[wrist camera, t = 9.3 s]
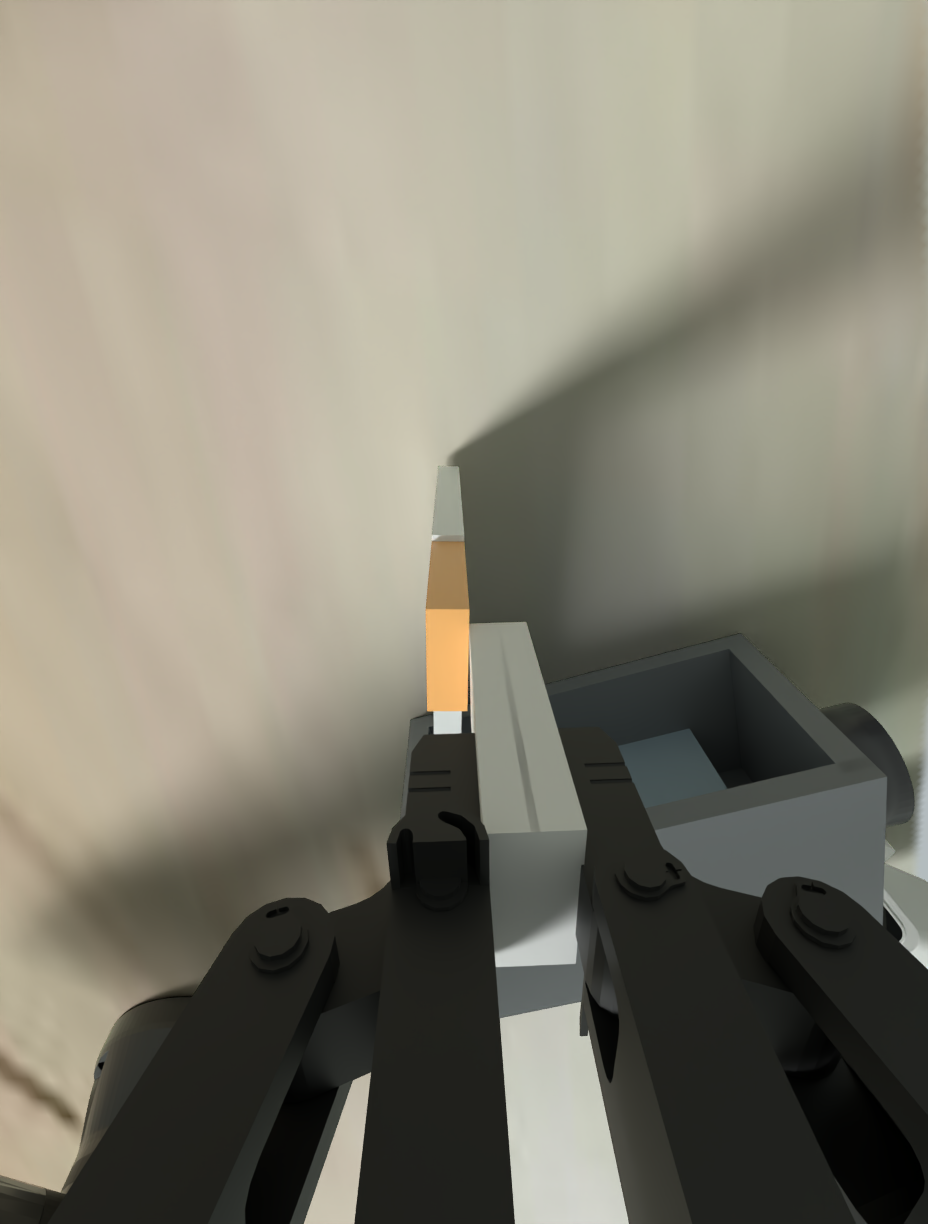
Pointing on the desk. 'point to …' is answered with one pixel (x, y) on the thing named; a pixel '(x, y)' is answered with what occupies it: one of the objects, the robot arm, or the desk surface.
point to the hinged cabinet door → (447, 608)
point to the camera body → (730, 781)
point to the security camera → (906, 908)
